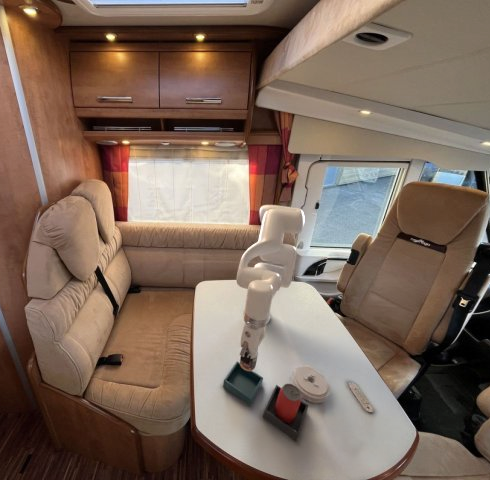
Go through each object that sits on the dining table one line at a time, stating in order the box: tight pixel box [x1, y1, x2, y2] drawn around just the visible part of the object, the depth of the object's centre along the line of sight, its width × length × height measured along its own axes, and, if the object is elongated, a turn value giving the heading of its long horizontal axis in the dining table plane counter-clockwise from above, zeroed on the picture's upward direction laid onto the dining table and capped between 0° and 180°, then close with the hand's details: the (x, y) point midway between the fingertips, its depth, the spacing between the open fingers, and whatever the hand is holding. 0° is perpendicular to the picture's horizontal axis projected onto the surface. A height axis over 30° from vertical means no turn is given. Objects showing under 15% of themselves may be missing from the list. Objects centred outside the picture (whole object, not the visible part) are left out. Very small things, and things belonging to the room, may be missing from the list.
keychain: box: [348, 382, 374, 413], centre depth 86 cm, size 10×1×3 cm
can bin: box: [262, 384, 309, 443], centre depth 80 cm, size 11×11×4 cm
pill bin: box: [222, 361, 264, 407], centre depth 89 cm, size 10×11×4 cm
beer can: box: [275, 383, 302, 423], centre depth 78 cm, size 7×7×12 cm
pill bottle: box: [239, 347, 259, 371], centre depth 82 cm, size 6×6×10 cm
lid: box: [290, 365, 331, 404], centre depth 88 cm, size 13×13×5 cm
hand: (249, 355), depth 82 cm, fingers closed on pill bottle, 5 cm apart
